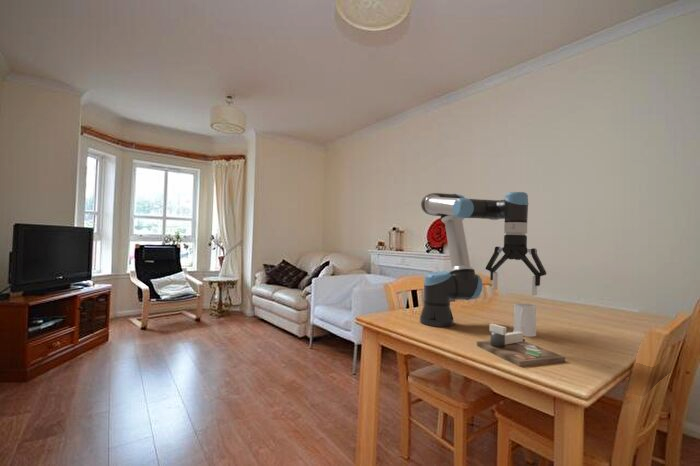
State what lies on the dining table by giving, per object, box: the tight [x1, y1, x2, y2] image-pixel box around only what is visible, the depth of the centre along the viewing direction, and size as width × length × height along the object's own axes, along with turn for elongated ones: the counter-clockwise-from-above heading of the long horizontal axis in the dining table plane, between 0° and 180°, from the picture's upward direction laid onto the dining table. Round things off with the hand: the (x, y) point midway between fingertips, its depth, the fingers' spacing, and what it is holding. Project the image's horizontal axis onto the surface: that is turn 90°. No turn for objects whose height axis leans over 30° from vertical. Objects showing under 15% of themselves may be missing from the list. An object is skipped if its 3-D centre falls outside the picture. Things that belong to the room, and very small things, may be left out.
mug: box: [512, 302, 537, 338], centre depth 133 cm, size 12×8×12 cm
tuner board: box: [476, 339, 566, 367], centre depth 110 cm, size 20×18×2 cm
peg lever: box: [488, 323, 526, 347], centre depth 116 cm, size 16×6×7 cm, turn 116°
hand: (513, 292), depth 119 cm, fingers open, 13 cm apart
